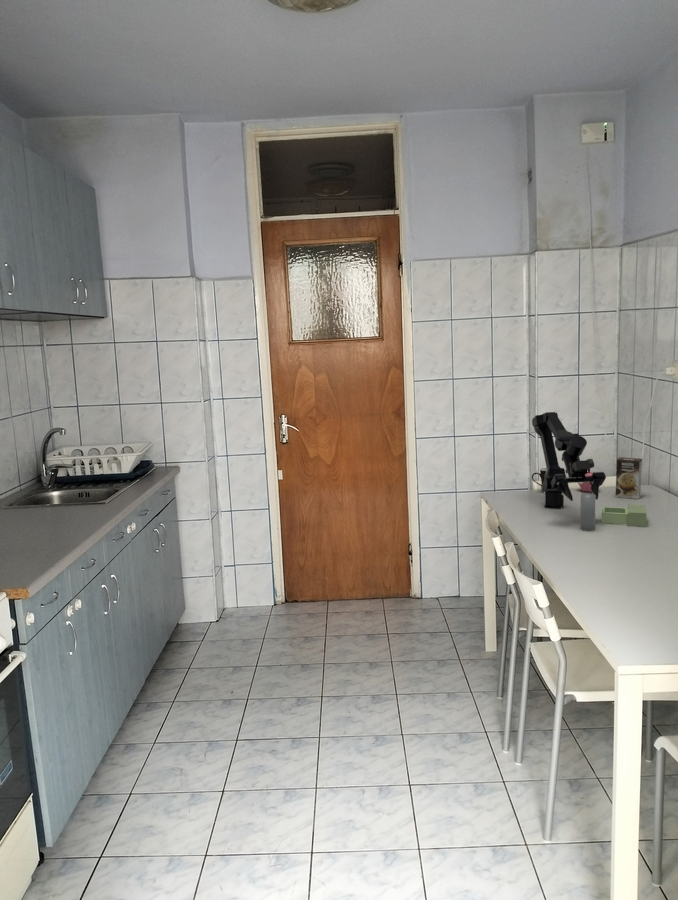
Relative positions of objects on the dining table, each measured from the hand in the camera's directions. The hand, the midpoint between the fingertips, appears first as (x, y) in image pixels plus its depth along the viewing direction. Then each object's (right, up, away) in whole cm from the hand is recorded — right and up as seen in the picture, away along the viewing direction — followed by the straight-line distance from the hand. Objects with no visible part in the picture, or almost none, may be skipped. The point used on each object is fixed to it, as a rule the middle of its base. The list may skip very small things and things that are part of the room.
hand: (584, 499), depth 263 cm
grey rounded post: (+1, -10, -1) cm, 10 cm away
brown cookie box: (+32, -2, +42) cm, 53 cm away
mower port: (+16, -8, +7) cm, 20 cm away
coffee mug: (+2, -1, +56) cm, 56 cm away
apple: (+20, 0, +54) cm, 57 cm away
